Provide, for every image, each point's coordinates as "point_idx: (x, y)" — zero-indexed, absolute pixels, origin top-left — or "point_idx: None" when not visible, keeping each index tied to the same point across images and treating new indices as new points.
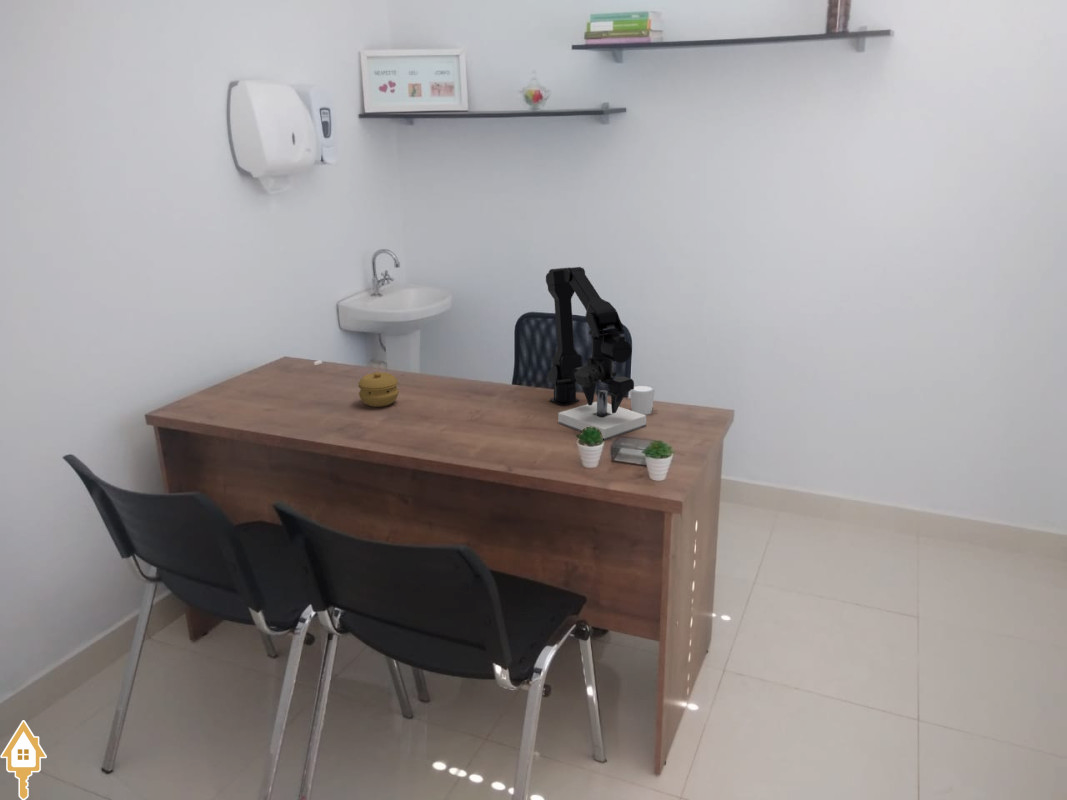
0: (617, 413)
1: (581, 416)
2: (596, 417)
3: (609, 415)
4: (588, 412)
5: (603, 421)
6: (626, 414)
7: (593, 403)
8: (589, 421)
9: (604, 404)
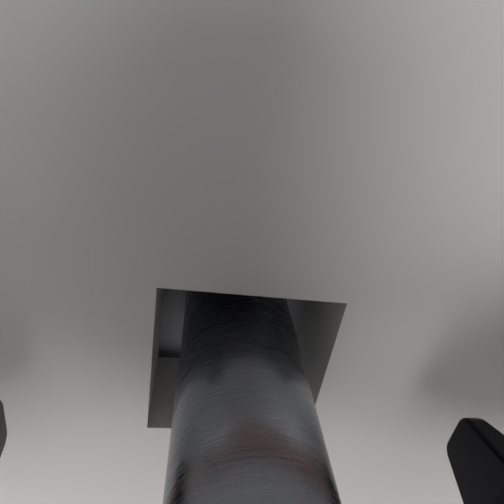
0: (125, 468)
1: (419, 148)
2: (216, 249)
3: (144, 389)
4: (409, 319)
5: (14, 184)
6: (35, 496)
7: None
8: (178, 31)
9: (169, 496)
